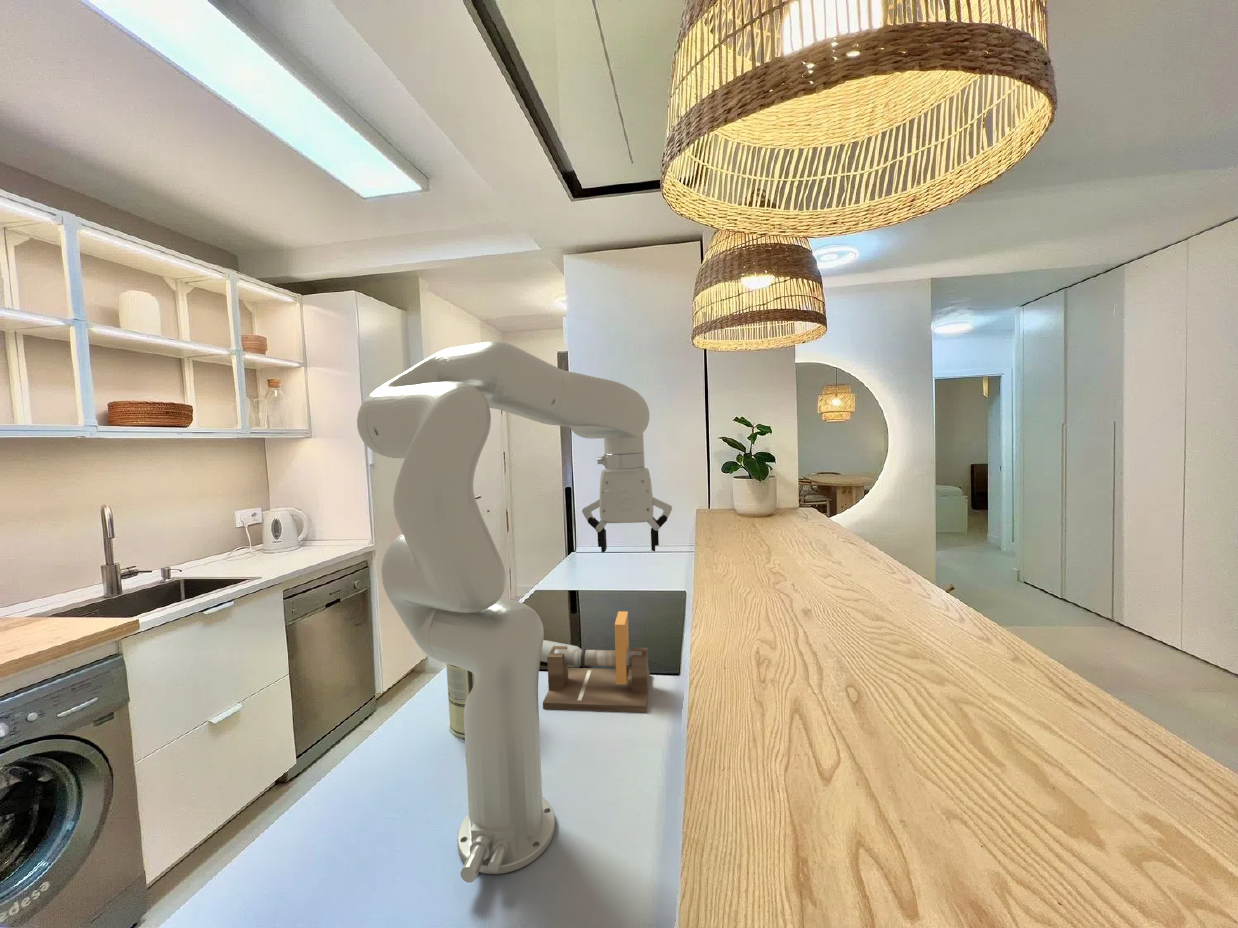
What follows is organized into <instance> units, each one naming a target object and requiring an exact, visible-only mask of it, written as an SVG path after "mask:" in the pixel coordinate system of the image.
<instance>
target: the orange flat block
mask: <svg viewBox="0 0 1238 928" xmlns="http://www.w3.org/2000/svg"><path fill="white" fill-rule="evenodd" d="M629 635H630V634H629V611H621V610H620V611H619V610H618V612H617V615H616V618H615V622H614V647H615V648H614V650H615V658H616V666H615V669H616V684H626V683H627V678H628V672H629V669H630V667H627V661H626V653H627V651H630V643H629V641H630V639H629V637H630V636H629Z"/></svg>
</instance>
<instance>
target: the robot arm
mask: <svg viewBox="0 0 1238 928" xmlns="http://www.w3.org/2000/svg"><path fill="white" fill-rule="evenodd" d="M491 409H493V410H495V409H496V410H499V411H503V412H506V413H509V414H513V415H516V416H519V417H521V418H525V419H528V420H531V421H535V422H538V423H541V424H544V425H549V426H559V427H569V428H570V430H571V431H572V433H573V434H575V435H577V436H579V437H580V438H584V439H592V440H593V439H603V446H604V454H603V456H598V457H597V459H596V460H597V465H603V467H604V468H605V469H603V470H601V472H600V478H599V498H598V499H597V500H596V501H594V502H592V503H590V504H588V505H586V506H585V507H584V508H583V509H582V511H581V513H582V515H583V516H584V518H585V520H586V521H587V523H588V524H589V525H590V526H591V527H592V528H593V529H594V530H595V532H597V546H598V548H600V549H601V550H600V551H601V553H606V550H607V547H608V546H607V545H608V544H607V530H606V529H605V527H606V525H607V524H629V523H630V524H631V523H632V524H635V523H648V525H649V526H650V527H651V528H650V545H651V547H650V549H651V551H652V552H656V547H658V546H660V542H659V541H660V540H659V530H660V529H661V528H662V526H663V525H665V524H666V522H667V521H668V518H669V516H670V514H671V512H672V511H673V507H672V505H671V504H669V503H668V502H664V500H663V501H662V500H660V499H658V498H656V497H653V488H652V487H653V485H652V480H651V474H650V470H649V468H648V467H645V463H646V462H645V447H644V446H645V444H644V443H645V442H644V433H645V431H646V430H647V428H648V425H649V423H650V409H649V405H648V403H647V402H646V400H645V399H644V397H643V396H642V395H641V393H639V392H637V391H636V390H634V389H633V388H631V387H629V386H628V385H626V384H623V383H620V382H617V381H614V380H611V379H606V378H602V377H601V378H600V377H596V376H591V375H587V374H583V373H579V372H573V371H569V370H568V371H567V370H564V369H562V368H559V367H558V366H555V365H554V364H551V363H549V362H547V361H545V360H543V359H541V358H539V357H537V356H536V355H533V354H532V353H530V352H527V351H526V350H523V349H521V348H520V347H517V346H514V345H513V344H510V343H508V342H502V341H493V340H489V341H483V342H482V341H481V342H477V343H469V344H465V345H464V344H463V345H458V346H452V347H448V348H444V349H442V350H439V351H438V352H436V353H434V354H432V355H430V356H429V357H426V358H425V359H423V360H422V361H419V363H417V364H415V365H414V366H412V367H410V368H409V369H407V370H405V371H404V372H403V373H401V374H399V375H397V376H395V377H394V378H392V379H390V380H388V381H387V382H385V383H383V384H382V385H381V386H379V387H377V388H376V389H374V390H373V391H372V392H370V394H368V395H367V397H365V398H364V400H363V402H362V403H361V405H360V407H359V409H358V412H357V418H356V426H357V427H356V428H357V431H358V435H359V437H360V438H361V440H362V442H363V443H364V445H365V446H367V448H369V449H370V450H371V451H372V452H374V453H376V454H378V455H380V456H383V457H386V458H391V459H403V461H402V465H401V467H400V470H399V474H398V476H397V480H396V482H395V487H394V491H393V500H392V501H393V505H392V506H393V513H394V516H395V519H396V523H397V524H398V527H399V529H400V531H401V534H400V535H398V536H397V537H395V538H394V539H393V540H392V542H391V543H390V544H389V545H388V547H387V548H386V551H385V553H384V555H383V558H382V561H381V580H382V585H383V588H384V591H385V593H386V595H387V597H388V600H389V601H390V603H391V604H392V606H393V608H394V609H395V611H396V612H397V614H398V616H399V618H400V619H401V621H402V623H403V624H404V625H405V627H406V629H407V631H408V632H409V633H410V635H411V637H412V639H413V640H414V641H415V643H416V644H417V646H418V647H419V648H420V650H421V651H422V652H423V653H424V654H425V655H427V656H428V657H429V658H431V659H432V660H435V661H438V662H440V663H443V664H450V665H453V666H456V667H460V668H462V669H465V670H468V671H470V672H472V673H473V674H474V675H475V684H474V686H473V688H472V690H471V692H470V694H469V695H468V697H467V700H466V703H465V707H464V730H465V738H464V745H465V746H464V747H465V764H466V765H465V766H466V783H467V784H466V785H467V788H466V789H467V806H468V813H467V814H466V816H464V818H463V820H462V822H461V823H460V826H459V829H458V831H457V832H458V833H457V840H456V842H457V851H458V854H459V857H460V859H461V860H462V861H463V862H464V865H463V867H462V869H461V871H460V877H461V879H462V880H463V881H464V882H465V883H468V884H470V883H474V881H476V880H477V877H478V875H479V872H480V873H482V874H483V873H484V874H488V875H491V874H492V875H499V874H507V873H510V872H514V871H517V870H519V869H522V868H523V867H526V866H527V865H529V864H530V863H532V862H533V861H535V860H536V859H538V857H540V856H541V855H542V854H543V852H545V850H546V849H547V847H548V846H550V845H549V844H550V843H551V842H552V840H553V836H554V833H555V830H556V829H555V826H556V820H555V812H554V809H553V807H552V805H551V804H550V802H549V800H547V799H546V798H544V797H543V787H542V783H543V782H542V761H541V760H542V759H541V758H542V756H541V738H540V737H541V735H540V715H539V714H540V712H539V711H540V709H539V708H540V707H539V679H540V678H539V673H540V665H541V661H540V659H541V653H542V647H543V640H545V639H544V638H545V637H544V635H545V633H544V632H545V631H544V624H543V621H542V620H541V617H540V615H538V613H537V612H536V611H535V610H534V609H533V608H532V607H531V606H529V605H527V604H525V603H523V602H520V601H517V600H513V599H511V598H510V599H509V598H505V597H502V595H503V593H504V591H505V588H506V584H507V583H506V581H507V580H506V579H507V577H506V576H507V575H506V570H505V565H504V563H503V560H502V558H501V556H500V552H499V551H498V549H497V546H496V544H495V542H494V540H493V537H492V535H491V533H490V531H489V529H488V527H487V526H488V525H487V524H486V522H485V520H484V517H483V515H482V513H481V510H480V508H479V505H478V503H477V499H476V496H475V492H474V479H475V473H476V470H477V465H478V463H479V459H480V457H481V455H482V451H483V449H484V447H485V445H486V443H487V440H488V438H489V435H490V431H491V430H490V429H491V424H492V423H491V422H492V417H491ZM654 507H657V508H658V509H661V510H662V514H661V515H660V516H659V517H658V518H657V519H656V518H655V517H654ZM597 509H599V518H600V520H598V519H597V518H596V517H595V516H593V513H592V512H594V511H595V510H597Z"/></svg>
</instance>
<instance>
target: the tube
mask: <svg viewBox="0 0 1238 928" xmlns="http://www.w3.org/2000/svg"><path fill="white" fill-rule="evenodd" d="M553 646H567V649H570V650H582V648H580V647H579V646H577V645H573V644H567V643H562V642H556V641H552V640H546V639H543V647H542V653H541V659H540V663H541V662H542V663H547V664H548V661H547V656H548V655H549V653H550V651H551V649H552V647H553ZM569 667H570V668H580V667H582V666H581V665H568V668H569Z"/></svg>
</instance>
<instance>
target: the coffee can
mask: <svg viewBox="0 0 1238 928" xmlns="http://www.w3.org/2000/svg"><path fill="white" fill-rule="evenodd" d="M445 664H446V663H445ZM446 681H447V697H448V699H447V700H448V712H449V730H450V733H451V734H452V735H454V736H455V737H457V738H460V739H465V730H464V707H465V703H466V700H467V697H468V695H469V694H470V692H471V690H472V688H473V686H474V684H475V675H474V674H473V673H472V672H470V671H468V670H465V669H462V668H460V667H456V666H453V665H450V664H446Z"/></svg>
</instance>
